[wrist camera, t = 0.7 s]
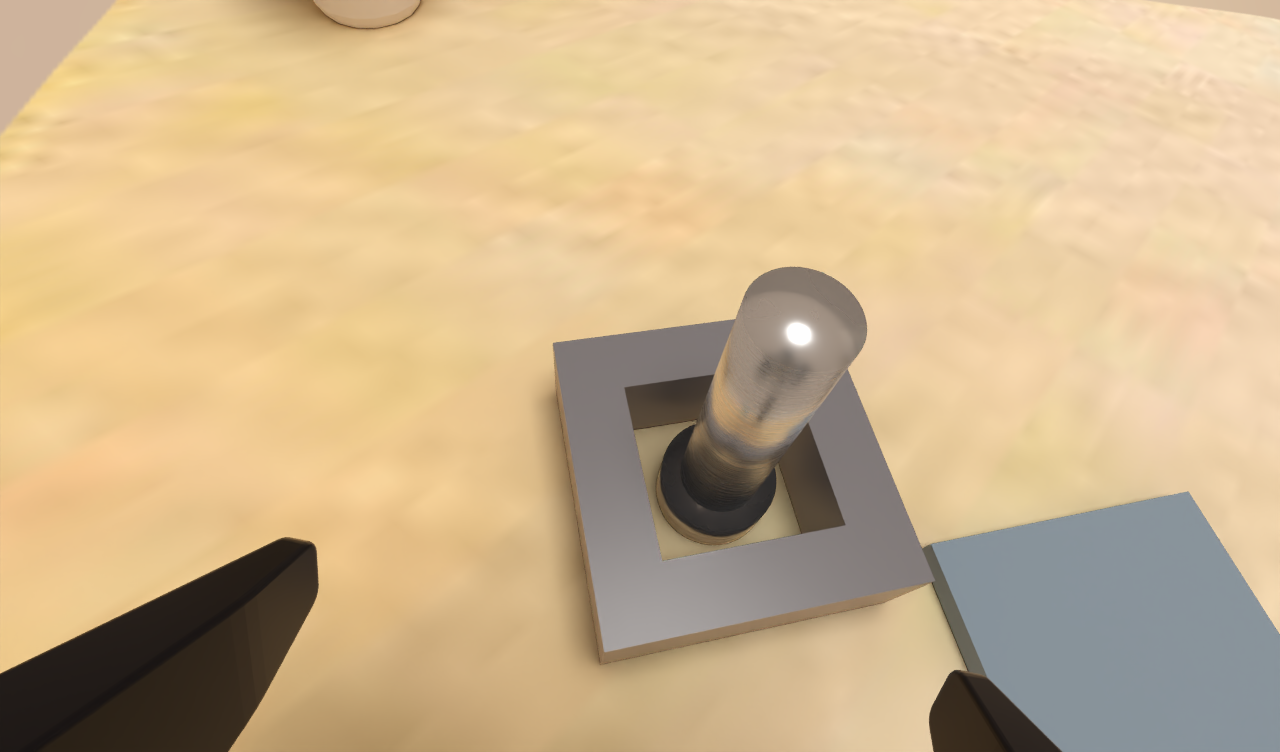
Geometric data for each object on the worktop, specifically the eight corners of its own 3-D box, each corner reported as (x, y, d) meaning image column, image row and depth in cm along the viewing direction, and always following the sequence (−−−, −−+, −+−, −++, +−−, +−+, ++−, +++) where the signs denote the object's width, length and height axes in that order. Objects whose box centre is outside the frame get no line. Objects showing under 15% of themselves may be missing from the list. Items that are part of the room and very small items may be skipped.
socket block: (884, 602, 24) (935, 580, 21) (600, 664, 22) (604, 652, 19) (793, 358, 29) (822, 308, 26) (556, 392, 27) (552, 342, 24)
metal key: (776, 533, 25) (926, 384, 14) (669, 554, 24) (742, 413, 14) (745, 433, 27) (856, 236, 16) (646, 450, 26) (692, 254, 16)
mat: (1374, 830, 22) (1407, 835, 21) (1075, 931, 20) (1098, 940, 19) (1169, 499, 27) (1188, 491, 27) (919, 550, 25) (931, 544, 24)
